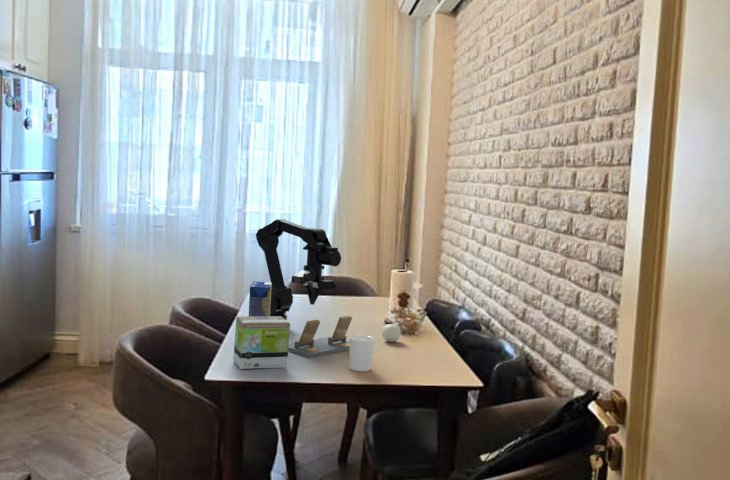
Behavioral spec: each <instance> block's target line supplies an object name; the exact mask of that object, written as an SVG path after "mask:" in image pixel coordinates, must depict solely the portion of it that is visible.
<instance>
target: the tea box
mask: <svg viewBox="0 0 730 480" xmlns="http://www.w3.org/2000/svg"><path fill="white" fill-rule="evenodd" d="M290 329H291V322H289V321H288V319H287V320H285V319H284V318H283V317H282V316H260V317H249V316H236V320H235V331H234V333H235V334H234V346H233V348H234V349H233V362H234V364H235V365H236V366H237V367H238V366H239V367H238V368H239V369H240V370H246V369H247V370H249V369H280V368H281V369H282V368H283V369H286V368H287V367H288V360H289V359H288V357H289V351H288V345H289V344H290V333H291V332H290V331H291V330H290Z"/></svg>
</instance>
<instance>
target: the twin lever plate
mask: <svg viewBox="0 0 730 480" xmlns="http://www.w3.org/2000/svg"><path fill="white" fill-rule="evenodd" d="M332 336H333V335H331V336H325V337H320V338H315V339H314V338H313V340H312V343H311V344H310V345H307V346H301V347H300V342H299V341H294V342H293V343H292V342H291V343H289V345H288V352H289V353H293V354H297V355H299V356H302V357H304V358H305V357H306V358H307V359H308V358H309V359H311V358H316V357H319V356H325V355H330V354H334V353H335V354H336V353H339V352H344V351H349V348H350V340H347V335H345V337H344V339H343V341H338V342H333V338H332Z"/></svg>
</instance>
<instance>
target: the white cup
mask: <svg viewBox="0 0 730 480" xmlns="http://www.w3.org/2000/svg"><path fill="white" fill-rule="evenodd" d="M349 342H350V348H349V350H348V351H349V357H348V358H349V369H350V370H352V371H355V372H368V371H371V370H372V369H371V368H372V361H373V355H374V349H375V347H374V345H375V338H374V337H373V336H369V335H363V334H356V335H350V336H349Z"/></svg>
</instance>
